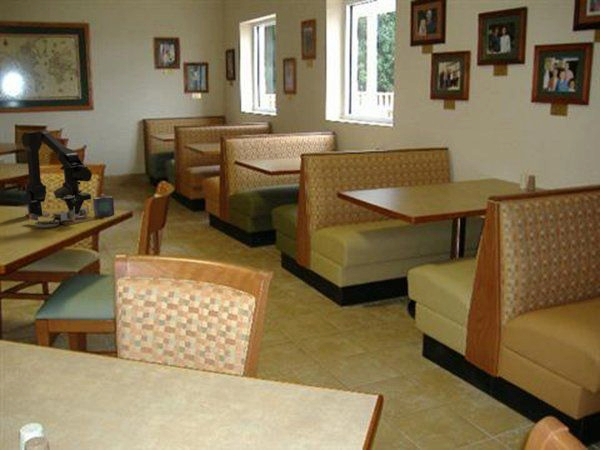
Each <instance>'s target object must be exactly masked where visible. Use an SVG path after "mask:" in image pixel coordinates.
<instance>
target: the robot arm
mask: <svg viewBox="0 0 600 450" xmlns="http://www.w3.org/2000/svg"><path fill="white" fill-rule="evenodd" d="M21 141H22V143H21V144H22V147H23V148H24V149H25V150H26V154H27V155H26V156H27V158H26V159H27V166H28V167H27V168H28V184H27V185H26V188H25V194H24V196H23V197H22V199H21V202H22V203H23V205H27V212H28V213H27V214H25V216H26V217H29V215H30V214H38V215H43V207H42V203H45V201H46V196H47V186H46V184H43V182H42V179H41V165H40V154H39V153H40V149H41V147H42V145H43V144H45V145H46V146H47V147H48V148H49V149H50V150H51V151H52V152H53V153H55V154H56V156H57V159H58V161H59V162H60V164H61V167H60V170H61V171H63V177H64V182H62V184H61V185H62V186H61V187H59V188H57V189H55V190H54V191H53V194H54V198H56V199H60V200H62V201H63V202H64V203H65V205H66V207H67V208H68V209H67V210H72V209H75V213H76V214H79V211H80V209H81V208H82V207H83V204H84V202H85V201H90V200H92V195H91V193H90V192H82V190H80V185H81V182H84V183H85V182H87V183H88V182H90V181H91V179H92V176H93V173H92V171H91V170H90V169H89V167H88V165H84V162H83V161H82V160H81V158H80V156H79V154H78V153H77V152H76V151H75V150H73V149H71V148H68V147H66V146H64V145H63V144H62V143H61V142H60V140H58V139H57V138H56V137H55V136H53V134H52V133H51V131H50V130H47V129H44V130H43V129H42V130H38V131H37V130H36V131H27V132H26V131H25V132H23V134H21Z"/></svg>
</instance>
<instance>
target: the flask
mask: <svg viewBox="0 0 600 450" xmlns="http://www.w3.org/2000/svg"><path fill="white" fill-rule="evenodd" d="M92 202H93V213H94V214H93V216H94V218H100V217H101V218H102V217H103V218H104V217H110V216H112V217H113V216H115V206H114V196H112V195H111V196H110V195H104V193H101V194H100V197H94V198H93V199H92Z"/></svg>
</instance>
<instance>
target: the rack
mask: <svg viewBox="0 0 600 450" xmlns="http://www.w3.org/2000/svg"><path fill="white" fill-rule="evenodd" d="M63 211H64V210H62V211H60V212H63ZM83 212H84V215H83V216H79V217H74V212H71V213H70V215H71V218H70V219H67V220H64V221H59V225H64V226H71V225H77V224H80V223H85V222H90V221H94V220H95V216H94V217H93V216H89V214H88V215H87V210H83ZM56 221H58V220H56Z"/></svg>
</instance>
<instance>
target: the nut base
mask: <svg viewBox="0 0 600 450" xmlns="http://www.w3.org/2000/svg"><path fill="white" fill-rule="evenodd" d="M42 213H43V216H50V215H51V214H50V211H42ZM58 227H60V224H59V221H57V220H55V222H53V223H48V224H40V223H38V221H37V222H35V223H34V229H37V230H47V229H49V230H50V229H55V228H58Z"/></svg>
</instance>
